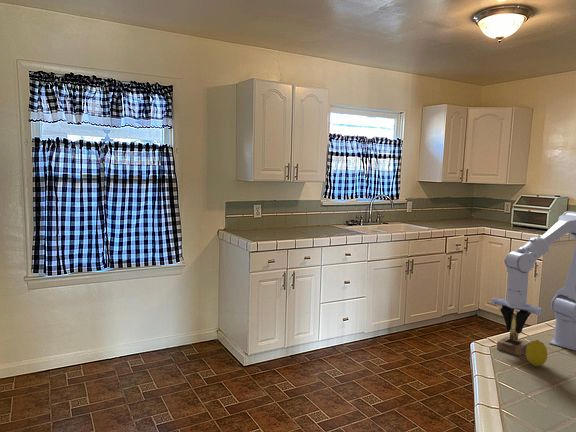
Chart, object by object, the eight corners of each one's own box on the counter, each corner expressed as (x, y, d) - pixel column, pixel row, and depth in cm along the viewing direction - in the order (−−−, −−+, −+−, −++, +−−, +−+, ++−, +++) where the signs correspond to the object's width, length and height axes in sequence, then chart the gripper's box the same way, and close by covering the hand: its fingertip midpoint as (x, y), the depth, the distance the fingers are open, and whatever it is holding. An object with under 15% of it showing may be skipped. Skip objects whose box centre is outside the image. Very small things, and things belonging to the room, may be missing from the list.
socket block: (506, 343, 145) (507, 336, 145) (528, 350, 140) (529, 342, 140) (497, 348, 141) (497, 341, 141) (519, 355, 136) (520, 348, 135)
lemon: (549, 371, 125) (551, 344, 124) (528, 369, 126) (530, 342, 125) (542, 363, 131) (544, 337, 130) (522, 361, 132) (524, 335, 131)
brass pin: (511, 336, 142) (513, 312, 141) (519, 338, 140) (521, 314, 139) (507, 338, 140) (509, 313, 139) (516, 340, 138) (517, 316, 138)
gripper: (488, 286, 141) (485, 327, 143) (536, 297, 130) (533, 341, 132) (498, 283, 146) (495, 322, 147) (545, 293, 135) (542, 335, 136)
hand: (514, 331), depth 140 cm, fingers closed on brass pin, 2 cm apart
